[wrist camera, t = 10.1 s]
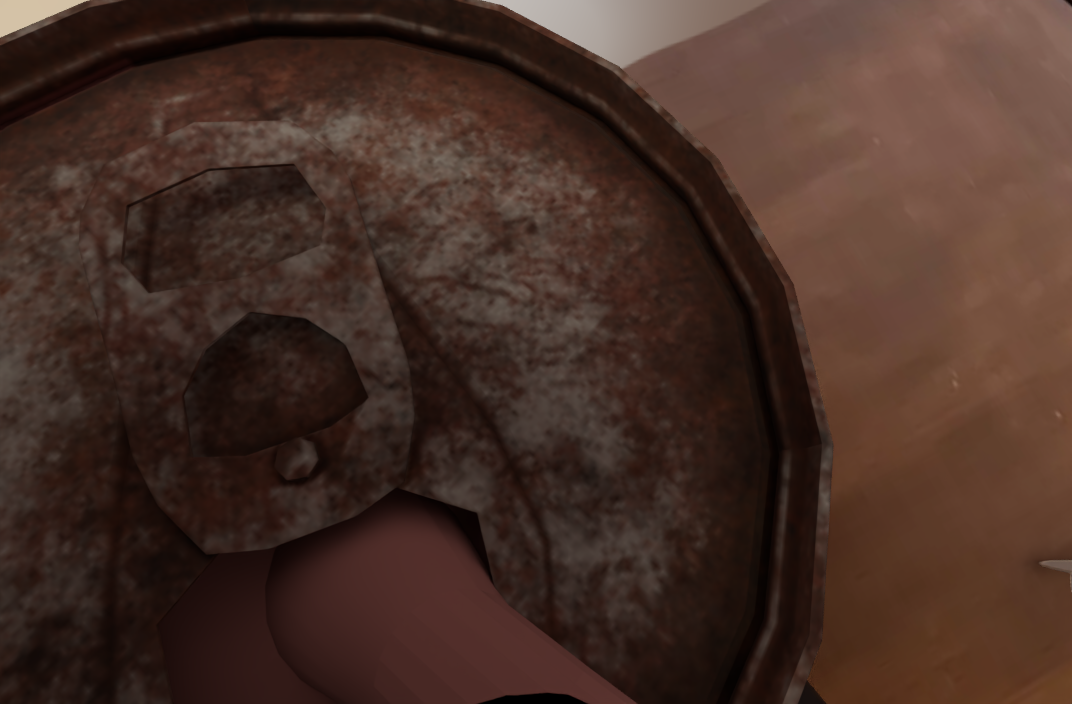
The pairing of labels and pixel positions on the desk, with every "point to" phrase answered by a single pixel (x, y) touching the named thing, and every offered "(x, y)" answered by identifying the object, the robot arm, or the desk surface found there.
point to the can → (387, 372)
